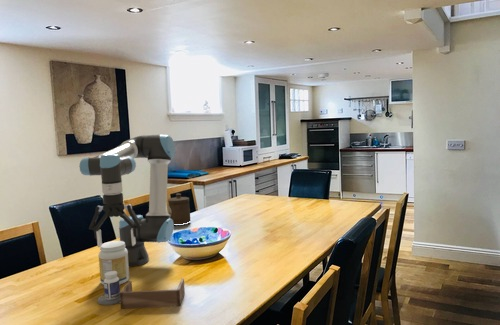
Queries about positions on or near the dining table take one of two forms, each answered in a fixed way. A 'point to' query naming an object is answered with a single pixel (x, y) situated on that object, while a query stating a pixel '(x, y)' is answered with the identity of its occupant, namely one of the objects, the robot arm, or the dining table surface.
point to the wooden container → (179, 209)
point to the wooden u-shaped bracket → (151, 297)
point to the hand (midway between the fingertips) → (116, 245)
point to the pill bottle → (111, 285)
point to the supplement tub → (114, 260)
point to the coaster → (107, 301)
